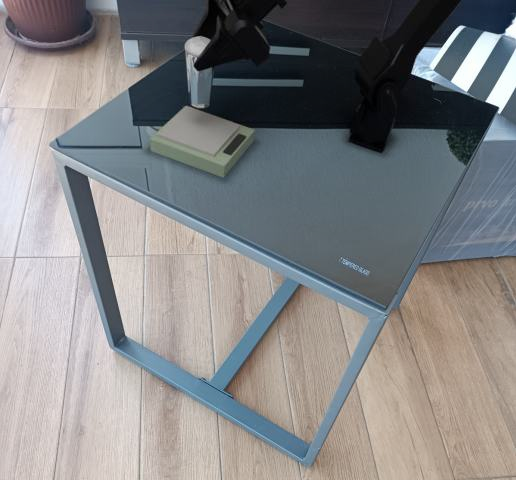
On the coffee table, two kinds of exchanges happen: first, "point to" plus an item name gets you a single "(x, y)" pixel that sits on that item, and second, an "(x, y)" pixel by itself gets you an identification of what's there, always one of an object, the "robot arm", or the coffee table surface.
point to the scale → (202, 141)
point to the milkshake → (198, 73)
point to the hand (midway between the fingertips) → (192, 59)
